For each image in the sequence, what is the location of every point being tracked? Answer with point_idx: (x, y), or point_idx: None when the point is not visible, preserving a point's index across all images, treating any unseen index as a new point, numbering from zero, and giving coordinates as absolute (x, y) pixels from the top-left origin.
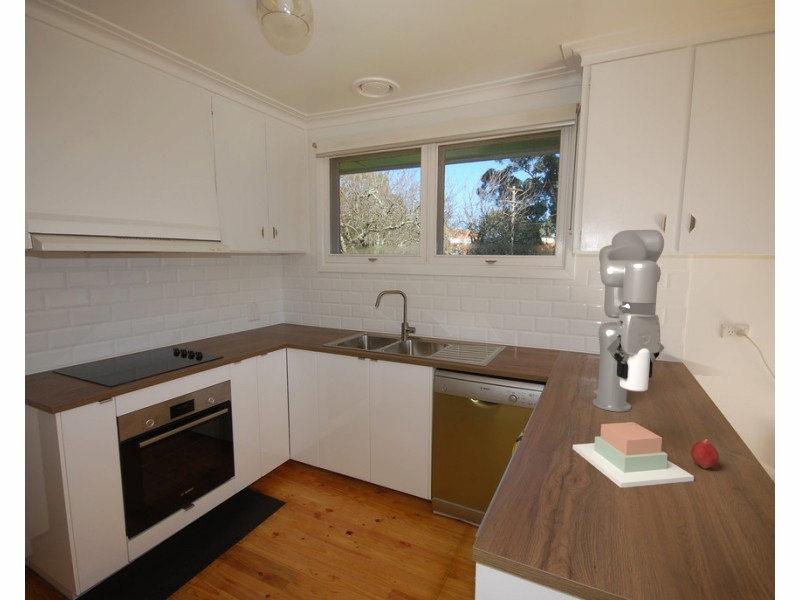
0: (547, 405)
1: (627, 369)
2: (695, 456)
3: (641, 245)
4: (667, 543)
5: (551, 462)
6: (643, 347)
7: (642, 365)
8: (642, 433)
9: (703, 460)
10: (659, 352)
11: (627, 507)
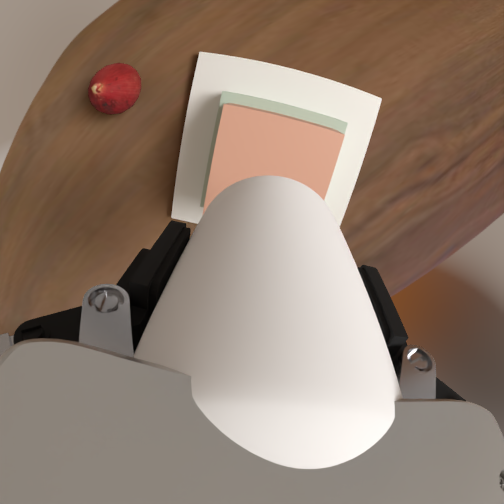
0: None
1: (382, 303)
2: (139, 88)
3: None
4: None
5: (411, 226)
6: (322, 486)
7: (323, 265)
8: (252, 147)
9: (137, 73)
10: (8, 340)
11: (419, 59)
